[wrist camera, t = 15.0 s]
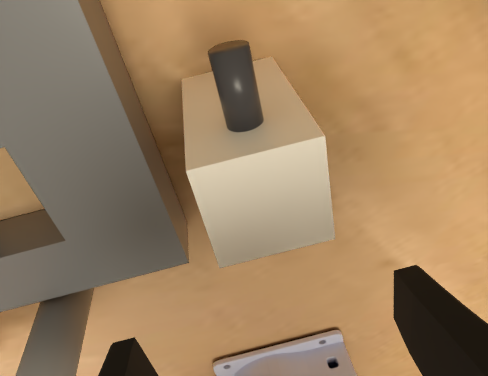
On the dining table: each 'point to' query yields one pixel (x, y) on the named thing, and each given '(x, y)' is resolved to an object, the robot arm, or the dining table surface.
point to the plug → (254, 158)
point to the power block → (78, 158)
